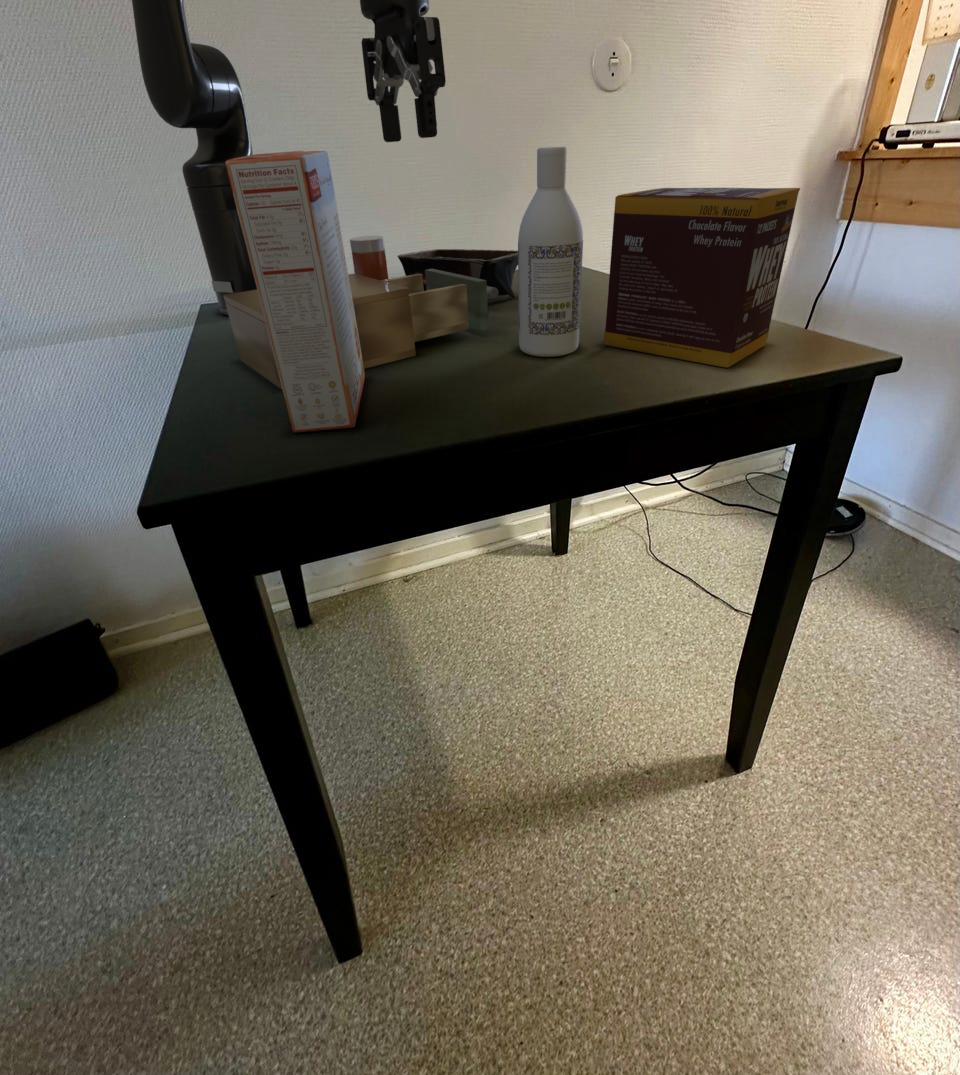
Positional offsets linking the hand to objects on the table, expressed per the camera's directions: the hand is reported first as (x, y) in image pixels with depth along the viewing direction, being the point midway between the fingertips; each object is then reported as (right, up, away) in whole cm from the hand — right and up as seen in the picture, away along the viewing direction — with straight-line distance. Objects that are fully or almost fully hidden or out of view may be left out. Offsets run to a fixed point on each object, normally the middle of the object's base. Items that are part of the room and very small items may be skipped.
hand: (409, 139), depth 73 cm
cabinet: (-10, -27, -1) cm, 28 cm away
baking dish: (+6, -12, +21) cm, 25 cm away
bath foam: (+17, -26, -2) cm, 31 cm away
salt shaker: (-6, -18, +12) cm, 22 cm away
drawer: (+1, -21, +5) cm, 22 cm away
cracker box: (-6, -35, -14) cm, 38 cm away
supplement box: (+32, -26, -3) cm, 41 cm away
